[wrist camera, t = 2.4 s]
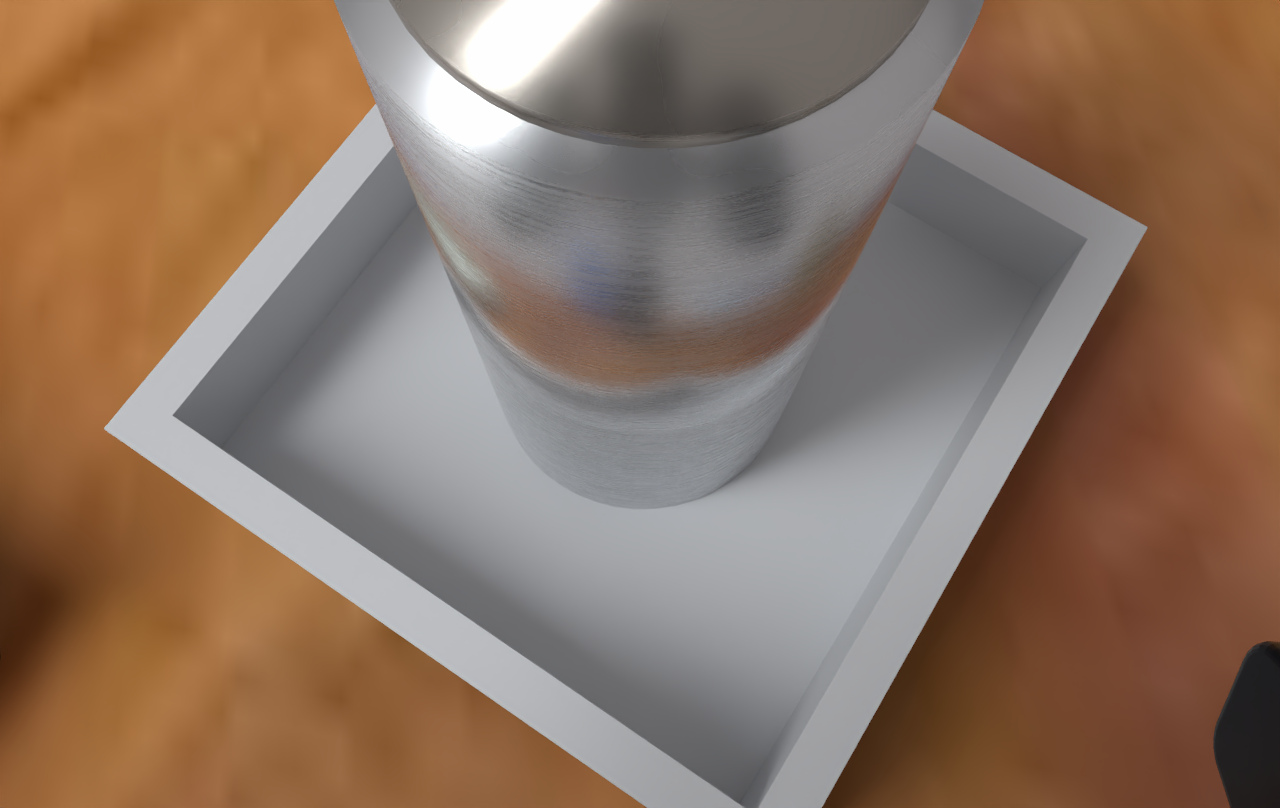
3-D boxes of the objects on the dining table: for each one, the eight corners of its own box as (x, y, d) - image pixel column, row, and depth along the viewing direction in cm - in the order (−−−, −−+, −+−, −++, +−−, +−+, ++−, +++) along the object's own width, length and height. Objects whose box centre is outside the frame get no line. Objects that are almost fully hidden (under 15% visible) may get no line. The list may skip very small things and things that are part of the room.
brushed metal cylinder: (840, 327, 20) (1124, -204, 9) (687, 567, 19) (779, 322, 7) (602, 185, 21) (567, -471, 10) (438, 405, 20) (162, -48, 8)
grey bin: (1078, 293, 21) (1148, 226, 19) (750, 867, 18) (772, 895, 15) (557, -1, 23) (547, -102, 21) (178, 470, 20) (103, 428, 17)
